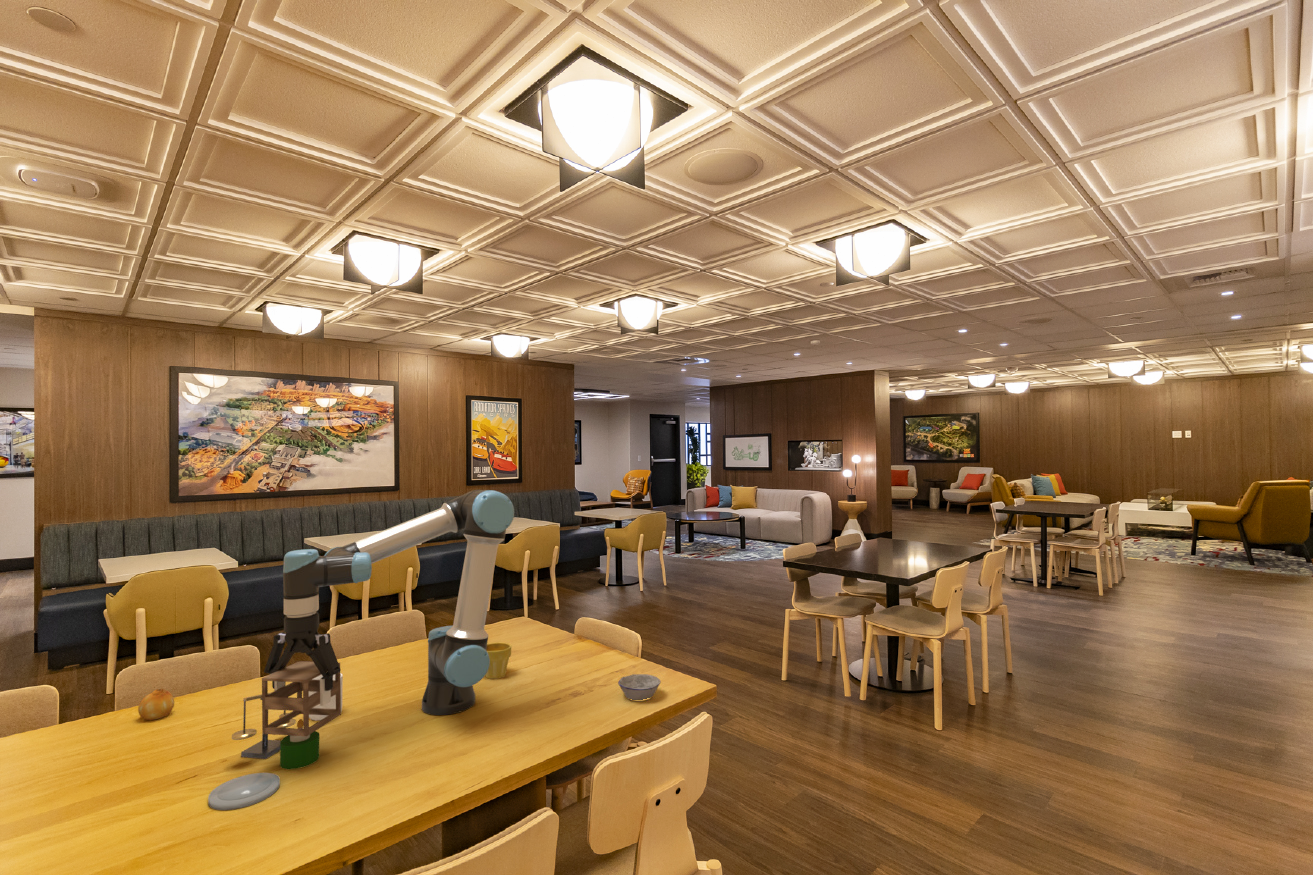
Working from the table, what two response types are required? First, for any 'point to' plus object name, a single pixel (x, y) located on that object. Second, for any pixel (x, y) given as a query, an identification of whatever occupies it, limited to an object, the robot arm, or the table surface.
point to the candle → (299, 750)
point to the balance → (264, 746)
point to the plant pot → (498, 659)
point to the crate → (297, 699)
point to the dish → (243, 791)
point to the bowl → (639, 686)
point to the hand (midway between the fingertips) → (302, 702)
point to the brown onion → (156, 705)
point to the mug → (329, 705)
